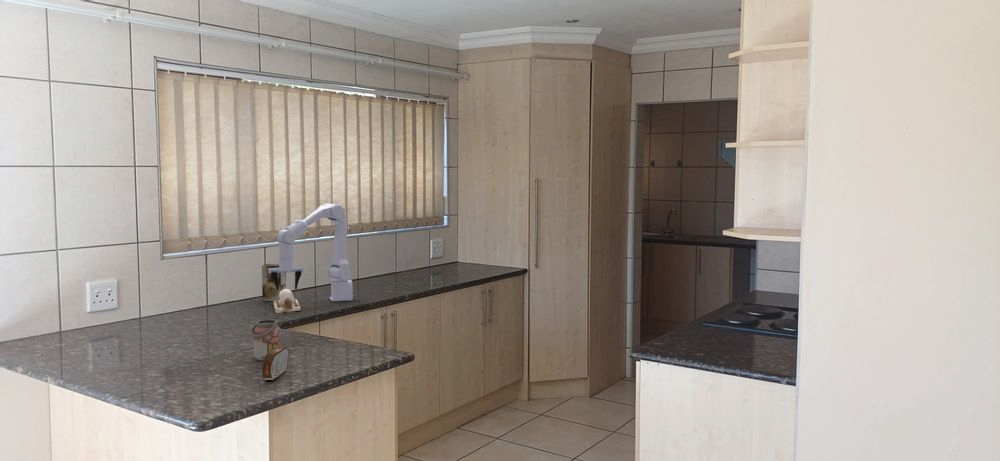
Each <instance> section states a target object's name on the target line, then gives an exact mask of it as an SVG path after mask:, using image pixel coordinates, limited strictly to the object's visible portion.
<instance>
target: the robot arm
mask: <svg viewBox="0 0 1000 461" xmlns="http://www.w3.org/2000/svg"><path fill="white" fill-rule="evenodd" d="M322 218H325V219H328V220H330V221H331V223H333V224H334V236H333V237H334V240H333V259H331V261H330V263H329V268H328V269H327V274H328V276H329V278H330V280H331V281H330V282H331V283H330V284H331V289H330V291H331V294H330V295H331V296H329V299H330V301H331V302H342V301H343V302H344V301H345V302H346V301H347V302H348V301H353V300H354V297H353V296H354V295H353V294H354V293H353V285H354V284H353V280H351V279H350V277H351V274H352V271H351V269H350V263H349V262H348V260H347V238H348V218H347V216H346V209H345V208H344V207H343V206H342V205H341V204H338V203H337V204H335V203H328V202H326V203H323V204H322V205H320V206H318V208H316V209H315V210H314V211H313V212H312V213H311V214H309V215H308V216H307V217H306V218H304V219H296V220H295V219H294V221H293V223H292V224H290V225H287V226H286V227H285V228H284V229H281V230H279V231H278V232H277V234H276V236H275V239H276V241H277V243H278V264H279V268H268V273H271V275H272V277H273V279H274V281H275V285H276V290H278V274H277V273H286V274H287V273H294V290H297V289H298V285H299V280H300V278H301V276H302V273H305V267H304V266H294V242H296V238H298V237H300V236H301V235H302V234H304V233H305V232H307V230H308V227H309V226H311V225H312V224H314V223H316V222H318V221H319V220H321V219H322Z"/></svg>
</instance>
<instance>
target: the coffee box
mask: <svg viewBox="0 0 1000 461" xmlns="http://www.w3.org/2000/svg"><path fill="white" fill-rule="evenodd" d="M268 268H279V263H265V264H263V265H261V285H262V287H261V288H262V289H261V291H262V292H261V293H262V295H261V296H262V298H261V299H262V301H263V302H264V301H265V302H273V300H280V298H279V293H280V291H282V290H283V289H287V273H277V274H278V290H276V285H275V281H274V279H273V277H272V275H271V273H268Z"/></svg>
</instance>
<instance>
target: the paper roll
mask: <svg viewBox="0 0 1000 461" xmlns="http://www.w3.org/2000/svg"><path fill="white" fill-rule="evenodd" d="M279 298H280V301H281V303H282V305H283V306H284V301H290V300H292V305H293V304H294V301H295V299H296V298H295V297H294V294H293V292H292V291H291V290H290V289H289V288H286V289H283V290H282V291H280V293H279Z"/></svg>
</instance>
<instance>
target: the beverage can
mask: <svg viewBox="0 0 1000 461" xmlns="http://www.w3.org/2000/svg"><path fill="white" fill-rule="evenodd" d="M278 323H279V322H278V320H277V319H270V318H269V319H258V320H257V321H256V322H255V324H254V325H253V326H252V327H251V328H250V332H249V335H250V336H251V337H252V338H253V357H254V359H255V358H256V359H264V358H265V356H266V354H267V353H268V352H269V351H271V350H272V349H274V348H276V347H277V346H281V328H280V326H279V325H278Z"/></svg>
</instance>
